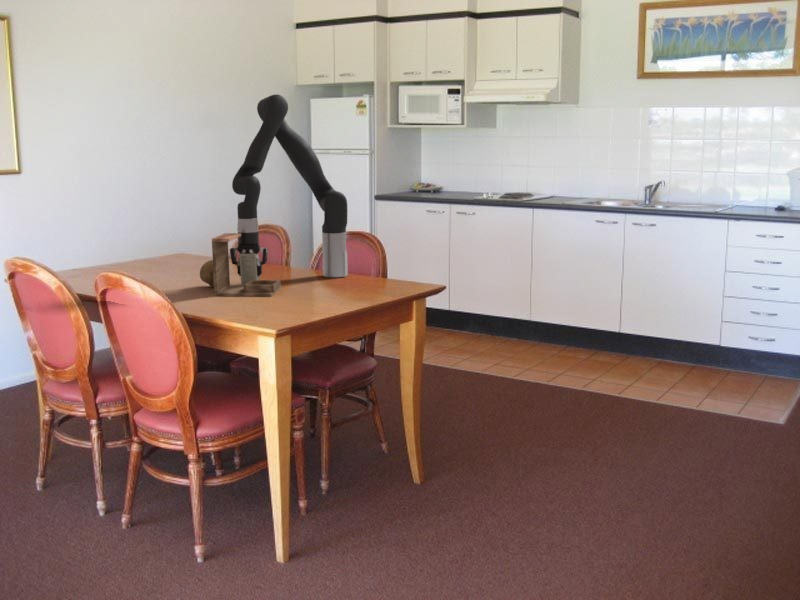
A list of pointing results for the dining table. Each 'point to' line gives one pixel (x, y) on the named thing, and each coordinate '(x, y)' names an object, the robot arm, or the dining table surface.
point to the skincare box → (248, 268)
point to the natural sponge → (207, 273)
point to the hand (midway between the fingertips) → (249, 275)
